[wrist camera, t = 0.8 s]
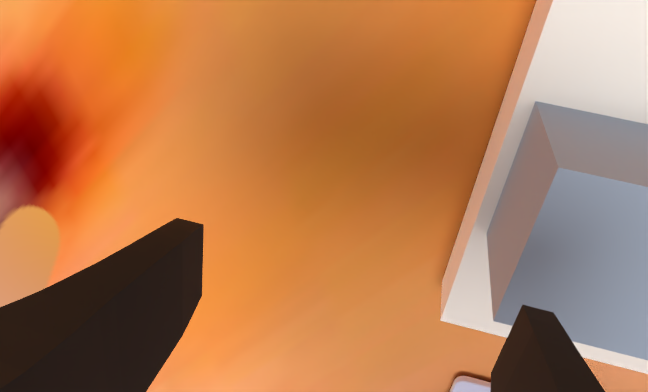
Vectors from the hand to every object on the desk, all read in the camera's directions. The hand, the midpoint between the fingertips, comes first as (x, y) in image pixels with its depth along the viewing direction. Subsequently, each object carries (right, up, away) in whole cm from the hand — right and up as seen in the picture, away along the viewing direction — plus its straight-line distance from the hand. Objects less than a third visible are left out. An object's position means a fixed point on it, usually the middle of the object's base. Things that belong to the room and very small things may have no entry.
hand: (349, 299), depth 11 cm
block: (+8, +2, +6) cm, 10 cm away
